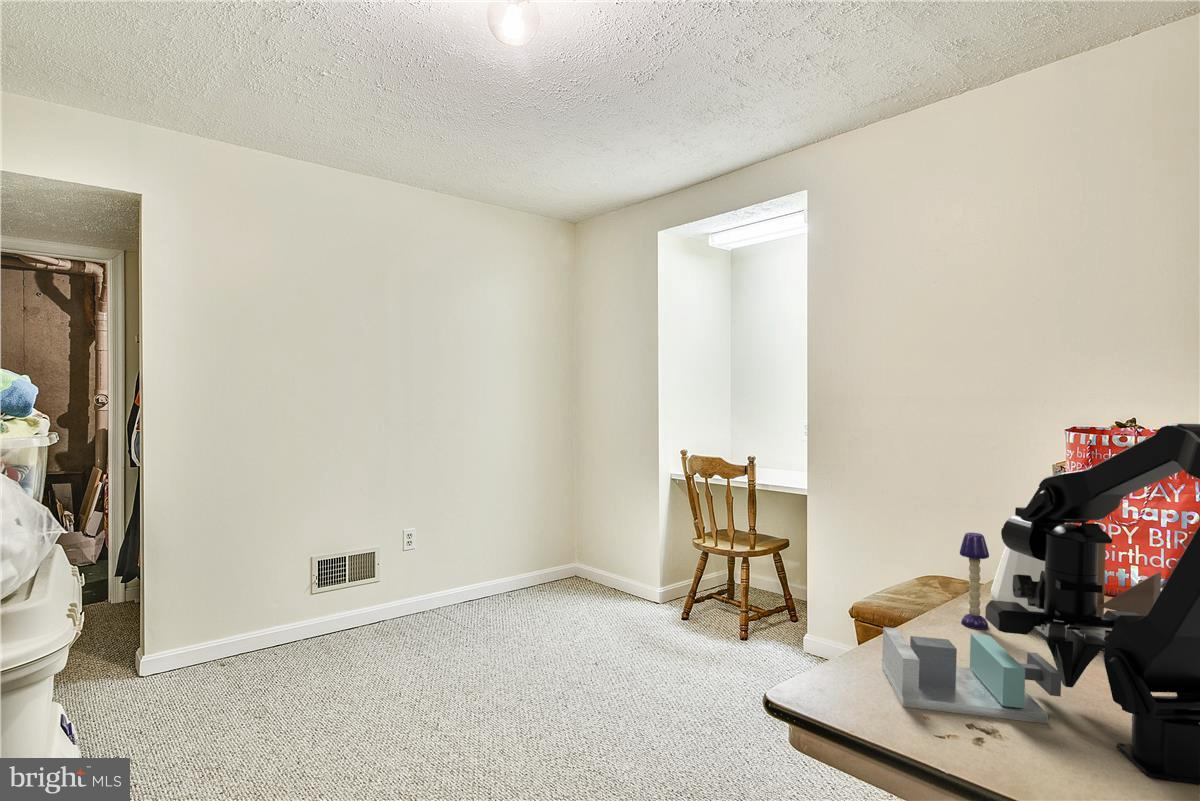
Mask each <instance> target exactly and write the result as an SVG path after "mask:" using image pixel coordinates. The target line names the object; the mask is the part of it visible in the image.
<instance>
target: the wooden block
mask: <svg viewBox="0 0 1200 801" xmlns="http://www.w3.org/2000/svg"><path fill="white" fill-rule="evenodd" d="M1106 547H1107V544H1099V543H1098V578H1097V583H1099V584H1101V585H1103V587H1102V593H1097V612H1096V614H1098V615H1099V616H1101V617H1104V614H1105V609H1107V610H1111V611H1123V612H1135V613H1137V614H1139V615H1147V614H1148V613H1149V611H1150V610H1151V608H1152V606H1153V604H1154V603H1155V601H1156V599H1157V598H1158V596H1159V594H1160V592H1161V591H1162V589H1161V588H1162V572H1161V571H1159V572H1156V573H1153V574H1152V575H1150V576H1149V577H1147V578H1145V579H1143V580H1142V581H1139V582H1138V583H1136V584H1134V585H1133V586H1131V587H1130V588H1127V589H1126V590H1125V591H1123V592H1121V593H1118V595H1115V596H1114V597H1112V598H1110V599H1108V600H1107V601H1105V587H1106V586H1105V585H1106V581H1105V580H1106V577H1105V576H1106V554H1107V553H1106V549H1107V548H1106ZM1109 634H1110V633H1105V636H1104V637H1106V636H1108V635H1109ZM1107 643H1108V642H1107ZM1104 650H1105V649H1102V650H1101V651H1103V652H1104Z"/></svg>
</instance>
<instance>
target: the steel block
mask: <svg viewBox="0 0 1200 801" xmlns="http://www.w3.org/2000/svg"><path fill="white" fill-rule="evenodd" d="M909 641H910V642H909V646H910V647H911V649H912V650H913V651H914V653H915V654H916V656H917V657H918V659H919V685H923V686H932V687H941V688H950V689H956V667H957V654H958V652H957V647H956V646H955V644H953V643H952V642H951V640H950V639H948V638H947V639H945V638H936V637H926V636H918V635H916V636H913V635H910V640H909Z"/></svg>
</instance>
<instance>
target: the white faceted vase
mask: <svg viewBox="0 0 1200 801" xmlns="http://www.w3.org/2000/svg"><path fill="white" fill-rule="evenodd" d="M1041 571H1045V561H1042V560H1038V559H1035V558H1033V557H1030V556H1027V555H1024V554H1021V553H1019V552H1016V551H1013V550H1011V549H1009V548H1008V547H1007V546H1006V545H1005V546H1004V550H1003V552H1002V555H1001V557H1000V562H999V563H998V568H997V570H996V573H995V577H994V578H993V582H992V585H991V587H990V588H991V590H990V595H991V600H994V601H1006V602H1018V603H1019V604H1020V605H1022V606H1023V607H1024V608H1026V609H1027V610H1028V611H1035V612H1044V610H1043V609H1038V608H1037V607H1035V606H1028V601H1027V598H1016V597H1015V596H1014V595H1013V587H1012V585H1013V575H1016V574H1018V575H1030V576H1031V578H1032V581H1036V582H1039V580H1040V574H1041ZM1053 621H1059V620H1053ZM1059 622H1064V621H1059Z"/></svg>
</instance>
